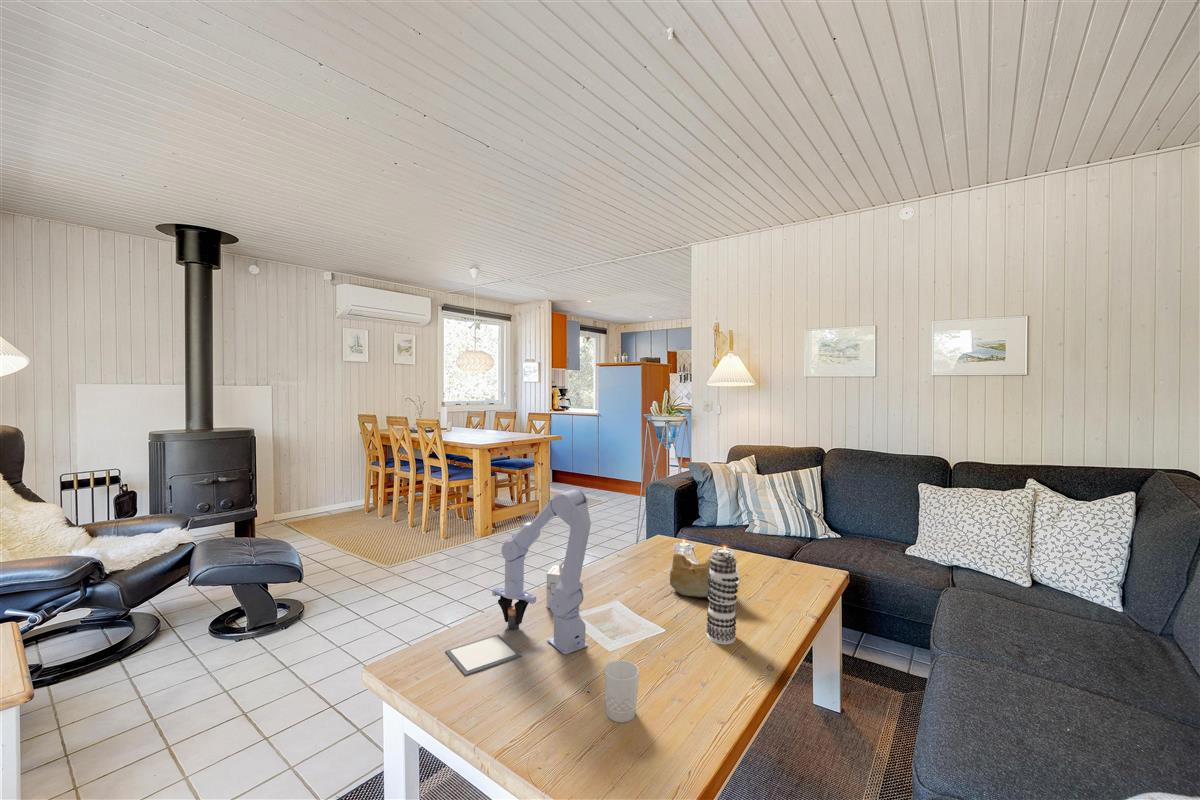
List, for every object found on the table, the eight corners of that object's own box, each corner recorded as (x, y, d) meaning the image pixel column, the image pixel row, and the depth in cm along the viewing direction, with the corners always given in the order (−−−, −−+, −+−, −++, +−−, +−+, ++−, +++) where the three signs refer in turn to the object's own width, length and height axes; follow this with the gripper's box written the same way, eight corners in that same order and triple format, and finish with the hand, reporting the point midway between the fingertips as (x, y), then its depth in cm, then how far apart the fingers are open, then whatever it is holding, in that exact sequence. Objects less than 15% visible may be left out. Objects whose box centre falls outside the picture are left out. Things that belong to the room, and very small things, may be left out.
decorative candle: (739, 633, 150) (741, 552, 150) (734, 648, 142) (736, 561, 141) (709, 627, 154) (711, 547, 154) (702, 640, 146) (704, 556, 145)
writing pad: (521, 656, 135) (521, 654, 135) (465, 676, 125) (465, 673, 125) (498, 635, 146) (498, 633, 146) (445, 652, 136) (445, 650, 136)
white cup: (601, 702, 116) (602, 660, 116) (635, 701, 116) (636, 659, 116) (605, 725, 108) (606, 680, 108) (640, 724, 109) (641, 679, 108)
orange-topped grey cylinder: (521, 628, 151) (521, 608, 151) (510, 631, 149) (511, 611, 148) (515, 623, 154) (516, 604, 154) (505, 626, 151) (505, 607, 151)
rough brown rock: (744, 597, 179) (745, 555, 180) (727, 609, 166) (728, 564, 167) (686, 583, 193) (687, 544, 194) (666, 593, 179) (667, 552, 180)
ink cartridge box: (552, 597, 174) (553, 556, 173) (566, 599, 173) (567, 557, 172) (545, 607, 165) (546, 564, 165) (559, 609, 164) (560, 565, 164)
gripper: (541, 577, 152) (540, 621, 152) (501, 570, 157) (500, 612, 158) (529, 585, 145) (528, 631, 146) (488, 577, 151) (487, 621, 151)
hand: (513, 622), depth 151 cm, fingers closed on orange-topped grey cylinder, 3 cm apart
